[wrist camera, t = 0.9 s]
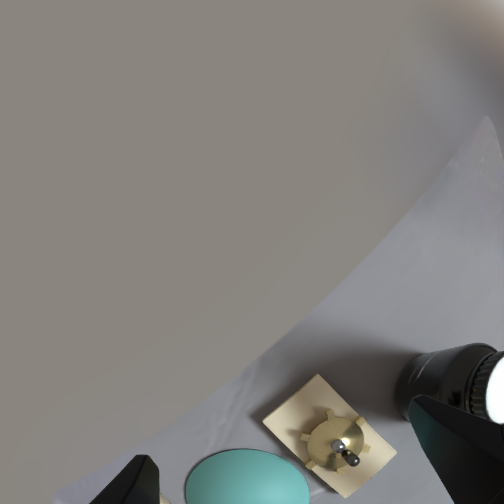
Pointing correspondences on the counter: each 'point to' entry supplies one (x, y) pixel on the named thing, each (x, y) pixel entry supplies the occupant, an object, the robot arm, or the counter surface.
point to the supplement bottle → (456, 380)
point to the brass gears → (335, 442)
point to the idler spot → (246, 480)
